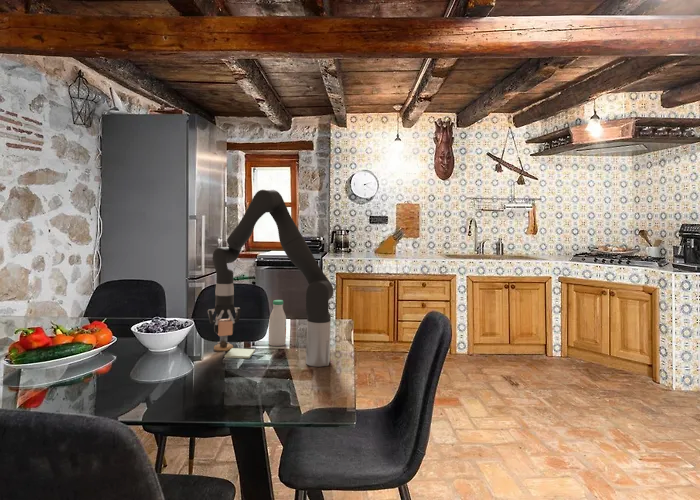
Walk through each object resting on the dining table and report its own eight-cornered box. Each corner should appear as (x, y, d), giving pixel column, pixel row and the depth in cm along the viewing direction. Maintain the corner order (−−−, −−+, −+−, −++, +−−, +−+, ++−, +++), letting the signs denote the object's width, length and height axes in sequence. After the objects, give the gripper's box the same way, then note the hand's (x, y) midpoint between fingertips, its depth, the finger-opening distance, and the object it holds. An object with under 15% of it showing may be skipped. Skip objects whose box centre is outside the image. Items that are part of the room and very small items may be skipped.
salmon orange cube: (232, 334, 185) (232, 320, 185) (219, 336, 182) (219, 321, 182) (229, 331, 190) (229, 317, 190) (216, 332, 187) (216, 318, 187)
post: (235, 346, 191) (235, 326, 190) (229, 352, 183) (230, 331, 182) (217, 345, 191) (217, 325, 190) (211, 351, 183) (211, 330, 182)
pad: (255, 351, 185) (255, 349, 185) (249, 358, 176) (249, 356, 175) (232, 350, 186) (232, 348, 186) (224, 357, 176) (224, 355, 176)
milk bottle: (284, 346, 193) (285, 302, 192) (266, 346, 193) (267, 301, 192) (286, 342, 201) (288, 299, 200) (270, 341, 201) (271, 298, 200)
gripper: (208, 295, 179) (208, 336, 180) (243, 294, 185) (243, 333, 187) (205, 293, 185) (205, 332, 186) (239, 291, 192) (238, 329, 193)
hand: (224, 332), depth 186 cm, fingers closed on salmon orange cube, 5 cm apart
